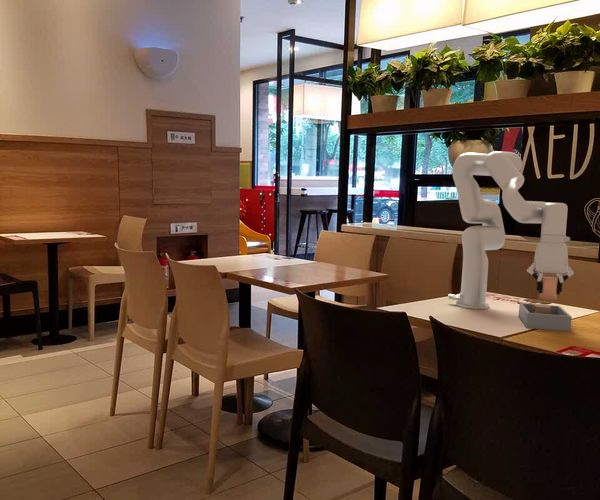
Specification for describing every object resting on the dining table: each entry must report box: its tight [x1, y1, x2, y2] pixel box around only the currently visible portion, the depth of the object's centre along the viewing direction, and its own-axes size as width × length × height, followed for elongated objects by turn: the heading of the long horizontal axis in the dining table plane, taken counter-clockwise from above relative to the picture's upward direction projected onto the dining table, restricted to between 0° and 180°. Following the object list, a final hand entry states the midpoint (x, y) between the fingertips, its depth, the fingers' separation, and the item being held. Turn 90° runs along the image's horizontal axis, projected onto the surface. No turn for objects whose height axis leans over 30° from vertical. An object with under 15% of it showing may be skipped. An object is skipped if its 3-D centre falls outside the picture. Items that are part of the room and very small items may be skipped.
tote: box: [518, 302, 572, 333], centre depth 194 cm, size 14×18×5 cm
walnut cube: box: [532, 303, 551, 314], centre depth 198 cm, size 5×5×5 cm
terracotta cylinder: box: [539, 276, 558, 301], centre depth 189 cm, size 5×5×7 cm
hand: (548, 292), depth 190 cm, fingers closed on terracotta cylinder, 5 cm apart
